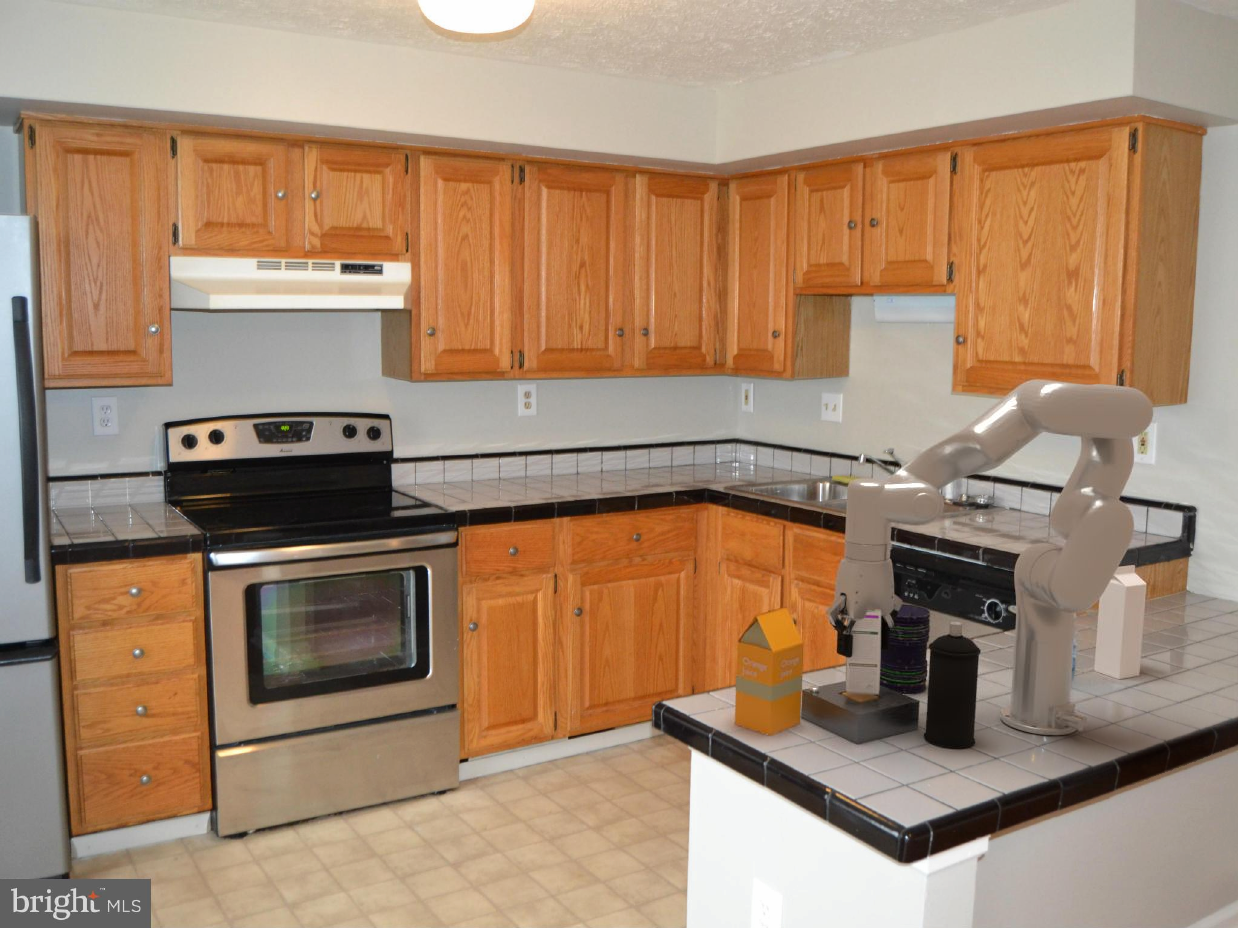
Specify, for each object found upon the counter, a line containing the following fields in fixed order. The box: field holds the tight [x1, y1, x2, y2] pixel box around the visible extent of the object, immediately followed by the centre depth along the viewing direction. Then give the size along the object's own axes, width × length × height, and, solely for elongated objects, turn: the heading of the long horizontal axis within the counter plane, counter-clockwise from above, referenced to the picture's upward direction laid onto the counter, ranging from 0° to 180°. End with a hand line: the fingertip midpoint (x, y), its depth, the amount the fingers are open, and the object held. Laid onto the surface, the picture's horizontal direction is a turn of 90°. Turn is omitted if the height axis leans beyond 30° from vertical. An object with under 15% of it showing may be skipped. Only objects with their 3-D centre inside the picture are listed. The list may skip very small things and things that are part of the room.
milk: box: [1093, 564, 1148, 680], centre depth 216 cm, size 6×6×22 cm
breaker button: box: [842, 692, 879, 703], centre depth 187 cm, size 4×4×3 cm
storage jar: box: [880, 603, 931, 695], centre depth 206 cm, size 10×10×15 cm
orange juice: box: [734, 606, 804, 737], centre depth 185 cm, size 8×9×20 cm
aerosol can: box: [923, 621, 981, 750], centre depth 179 cm, size 8×8×20 cm
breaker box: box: [800, 680, 921, 745], centre depth 187 cm, size 14×14×6 cm
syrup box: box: [845, 609, 881, 695], centre depth 186 cm, size 6×6×14 cm
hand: (863, 651), depth 186 cm, fingers closed on syrup box, 8 cm apart
